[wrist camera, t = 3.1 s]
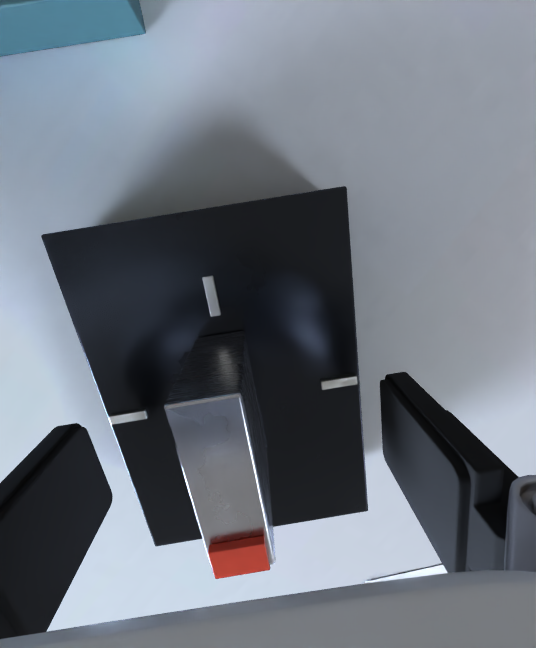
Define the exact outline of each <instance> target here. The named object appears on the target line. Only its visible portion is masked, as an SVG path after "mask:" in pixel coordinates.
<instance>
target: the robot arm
mask: <svg viewBox="0 0 536 648" xmlns="http://www.w3.org/2000/svg"><path fill="white" fill-rule="evenodd" d="M380 398H381V421H382V444H383V454H384V458H385V461H386V463H387V465H388V467H389V468H390V470H391V472H392V474H393V476H394V477H395V479H396V481H397V483H398V485H399V486H400V488H401V490H402V492H403V494H404V495H405V497H406V499H407V501H408V503H409V504H410V506H411V508H412V510H413V512H414V513H415V515H416V517H417V519H418V521H419V522H420V524H421V526H422V528H423V529H424V531H425V533H426V535H427V537H428V538H429V540H430V542H431V544H432V546H433V547H434V549H435V551H436V553H437V555H438V556H439V558H440V560H441V562H442V564H443V565H444V567H445V569H446V571H447V572H448V573H444V574H436V575H428V576H420V577H412V578H404V579H396V580H388V581H380V582H372V583H365V584H358V585H351V586H345V587H338V588H331V589H324V590H317V591H310V592H304V593H297V594H290V595H283V596H276V597H269V598H263V599H256V600H249V601H242V602H236V603H229V604H223V605H216V606H210V607H203V608H196V609H190V610H183V611H177V612H170V613H164V614H157V615H151V616H144V617H138V618H131V619H125V620H118V621H112V622H105V623H99V624H93V625H86V626H80V627H74V628H68V629H61V630H55V631H49V632H46V631H47V629H48V627H49V625H50V623H51V621H52V619H53V617H54V615H55V614H56V612H57V610H58V608H59V606H60V604H61V602H62V600H63V598H64V596H65V594H66V592H67V590H68V588H69V586H70V584H71V582H72V580H73V578H74V576H75V574H76V572H77V570H78V569H79V567H80V565H81V563H82V561H83V559H84V557H85V555H86V553H87V551H88V549H89V547H90V545H91V543H92V541H93V539H94V537H95V535H96V533H97V531H98V529H99V527H100V525H101V524H102V522H103V520H104V518H105V516H106V514H107V512H108V510H109V508H110V506H111V503H112V492H111V489H110V486H109V484H108V481H107V479H106V476H105V474H104V471H103V469H102V466H101V464H100V461H99V459H98V456H97V454H96V451H95V449H94V446H93V444H92V441H91V439H90V436H89V434H88V431H87V430H86V428H84V427H81V425H79V424H77V423H75V424H69V425H63V426H57V427H56V428H54V429H53V430H52V431H51V432H50V433H49V434H48V435H47V436H46V437H45V438H44V439H43V440H42V441H41V442H40V443H39V444H38V445H37V446H36V447H35V448H34V449H33V450H32V451H31V452H30V453H29V454H28V455H27V457H26V458H25V459H24V460H23V461H22V462H21V463H20V464H19V465H18V466H17V467H16V468H15V469H14V470H13V471H12V472H11V473H10V474H9V475H8V476H7V477H6V478H5V479H4V480H3V481H2V482H1V483H0V648H536V475H527V476H522V477H518V476H517V475H516V474H515V473H514V472H513V471H512V470H511V469H509V468H508V467H507V466H506V465H505V464H504V463H503V462H502V461H501V460H500V459H499V458H498V457H497V456H496V455H495V454H494V453H493V452H492V451H491V450H490V449H488V448H487V447H486V446H485V445H484V444H483V443H482V442H481V441H480V440H479V439H478V438H477V437H476V436H475V435H474V434H473V433H472V432H471V431H470V430H469V429H468V428H466V427H465V426H464V425H463V424H462V423H461V422H460V421H459V420H458V419H457V418H456V417H455V416H454V415H453V414H452V413H450V412H449V411H448V410H445V409H444V408H443V407H442V406H441V405H440V404H438V403H437V402H436V401H435V400H434V399H433V398H432V397H431V396H430V395H429V394H428V393H427V392H426V391H425V390H424V389H423V388H422V387H421V386H420V385H419V384H418V383H417V382H416V381H415V380H414V379H413V378H412V377H411V376H410V375H409V374H408V373H406V372H400V373H394V374H387V375H386V376H385V380H381V381H380Z"/></svg>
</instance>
